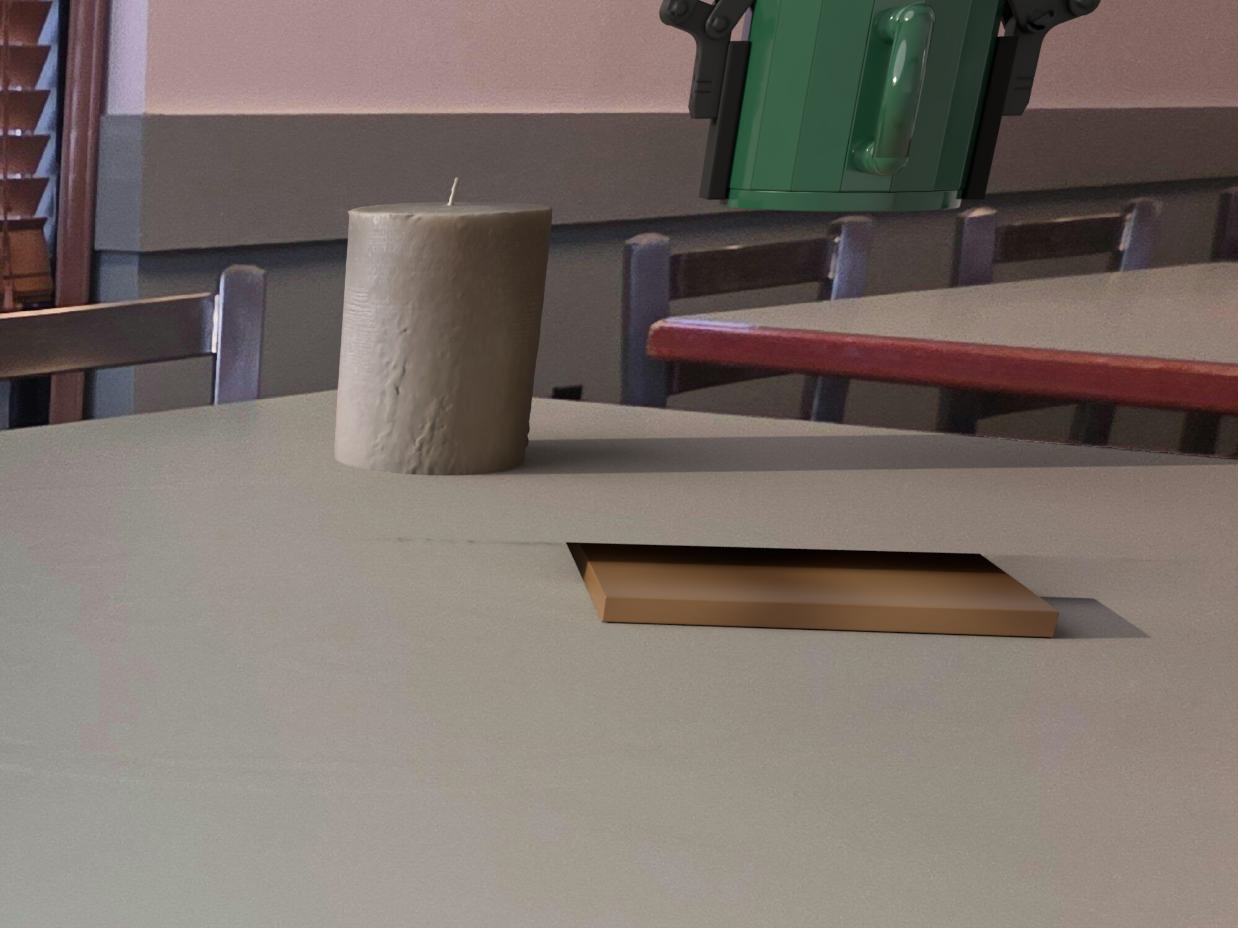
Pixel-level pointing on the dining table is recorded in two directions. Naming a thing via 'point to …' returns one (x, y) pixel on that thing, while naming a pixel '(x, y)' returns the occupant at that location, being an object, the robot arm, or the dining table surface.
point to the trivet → (809, 589)
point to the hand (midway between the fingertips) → (837, 198)
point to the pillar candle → (440, 335)
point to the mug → (860, 104)
